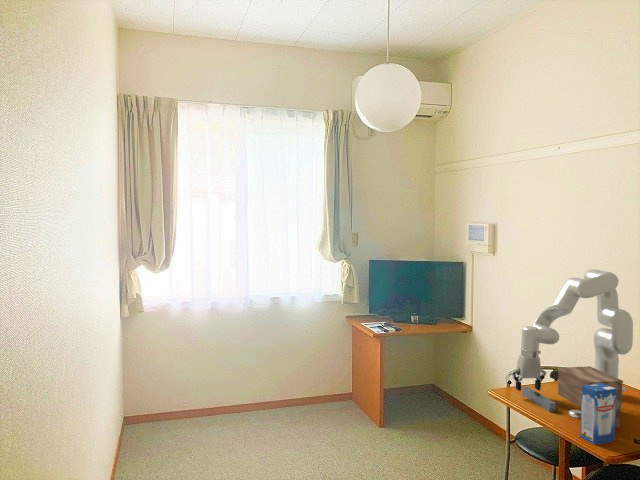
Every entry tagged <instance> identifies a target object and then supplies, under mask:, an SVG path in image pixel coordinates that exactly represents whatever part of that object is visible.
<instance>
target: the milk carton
mask: <svg viewBox="0 0 640 480" xmlns="http://www.w3.org/2000/svg"><path fill="white" fill-rule="evenodd" d="M615 409H616V388H613V387H611V386H608V385H605V384H603V383H599V384H591V385H584V386H582V400H581V407H580V411H581V418H580V433H579V434H580V436H579V437H580V438H581V439H582V440H585V441H586V442H588V443H590V444H592V445H595V446H596V445H601V444H604V443H611V442H615V434H616V433H615V431H616V428H615Z"/></svg>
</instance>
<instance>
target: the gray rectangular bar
mask: <svg viewBox="0 0 640 480" xmlns="http://www.w3.org/2000/svg"><path fill="white" fill-rule="evenodd" d="M521 395H522V396H523V397H525V398H526V399H528V400H530V401H531V402H532V403H534V404H536V405H538V407H541V408H542V409H544V410H545V411H547V412H549V413H553V412H556V409H557V408H556V407H557V406H556V405H557V404H556V402H555V401H553V400H552V399H550V398H548V397H546V396H544V395H543V394H541V393H539V392H537V391H536V390H534V389H532V388H531V387H529V386H525V387H524V386H521Z"/></svg>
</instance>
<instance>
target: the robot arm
mask: <svg viewBox="0 0 640 480" xmlns="http://www.w3.org/2000/svg"><path fill="white" fill-rule="evenodd" d="M619 281H620V280H619V277H618V276H617V275H616V274H615V273H613V272H610V271H606V270H605V271H604V270H600V269H588V270H586V271H585V273H584V274H583V278H580V277H569V278H568V279H566V280H565V282H564V284H563V285H562V287H561V288H560V290H559V293H558V294H557V296H556V297H555V299H554V301H553V302H552V304H551V305H550V306H547V307H546V308H545V309H544V310H543V311H542V312H541V313H540V314H539V315H538V316H537V318H536V320H535V321H534V323H533V325H532V326H531V325H526V326H523V327H522V330H521V344H520V345H521V347H520V354H519V355H518V358H517V363H516V367H515V369H514V370H512V371H510V374H511V376H512V378H513V379H514V381H515V389H516V390H517V391H519V392H522V382H521V381H523V380H524V379H535V381H534V389H536V390H537V391H541V388H542V385H541V384H542V382H543V380H544V379H546V378H545V377H546V375H547V371H546V370H544V369H542V367H541V366H542V365H541V358H540V355H539V354H542V353H541V350H540V344H544V345H555V344H557V343H558V342H559V341H560V334H559V332H558V331H557V330H556V329H554V328H552V327H551V325H552V323H554V321H555V320H557V319H560V318H561V317H565V316H568V315H570V314H572V313H573V310H574V309H575V307H576V305H577V303H578V301H579V300H580V298H581V299H590V298H595V297H596V299H597V300H596V301H597V303H596V305H597V309H596V310H597V311H596V316H597V318H596V319H597V322H598V323H600V325H603V326H605V327H603V328H598V329H597V330H596V331H595V332H594V334H593V344H594V351H595V353H594V355H595V357H594V358H595V359H594V368H595V369H597V370H599V371H602V372H604V373H606V374H609V375H611V376H613V377H616V378H618V379H619V365H620V364H619V363H620V360H619V355H622V356H623V355H627V354H628V353H630V351H631V350H632V347H633V343H634V321H633V317H632V315H631V314H630V313H629V312H628V311H627V310H625V309H622V308H620V306H619V294H618V291H617V289H616V288H617V287H618V286H619V283H620V282H619ZM627 391H628V390H627V387H623V386H622V393H624V392H627Z"/></svg>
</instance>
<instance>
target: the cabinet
mask: <svg viewBox="0 0 640 480" xmlns="http://www.w3.org/2000/svg"><path fill="white" fill-rule="evenodd" d="M557 369H558V370H557V371H559V377H558V380H557V381H558V382H557V383H558V385H557V395H559V396H561V397H562V398H564V399H566V401H569V402H571V403H573V404H574V405H576V406H578V407H579V408H581V400H582V386H584V385H591V384H599V383H603V384H605V385H608V386H611V387H613V388H616V409H615V429H616V428H620V425H621V423H620V422H621V421H620V420H621V410H622V401H623V399H622V398H623V392H622V387H623V384H624V380H622V379H619V377H618V378H616V377H613V376H611V375H609V374H606V373H604V372H602V371H599V370H597V369H595V367H592V366H566V367H565V366H564V367H558V368H557Z"/></svg>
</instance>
